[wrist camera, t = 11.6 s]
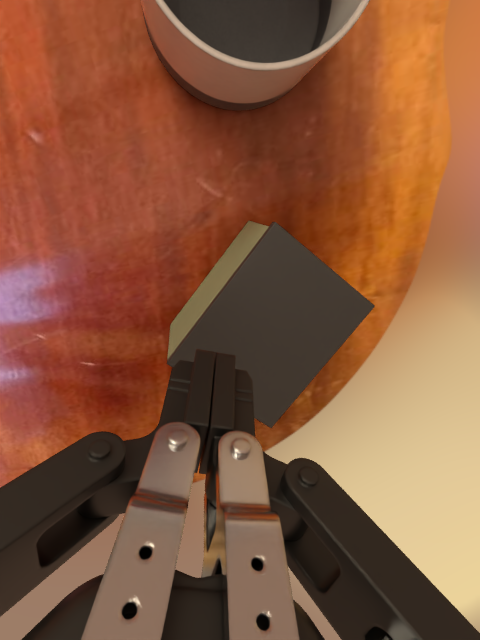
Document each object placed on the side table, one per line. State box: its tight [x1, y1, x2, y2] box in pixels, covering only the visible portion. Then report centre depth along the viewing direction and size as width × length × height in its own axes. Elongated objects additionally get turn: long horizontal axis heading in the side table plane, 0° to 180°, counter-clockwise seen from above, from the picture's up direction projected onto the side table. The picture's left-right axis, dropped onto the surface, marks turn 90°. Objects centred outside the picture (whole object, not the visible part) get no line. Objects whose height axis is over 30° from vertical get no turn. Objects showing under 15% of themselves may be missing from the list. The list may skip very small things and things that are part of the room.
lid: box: [167, 222, 374, 428], centre depth 26 cm, size 12×10×1 cm
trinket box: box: [168, 221, 269, 358], centre depth 30 cm, size 12×10×8 cm
